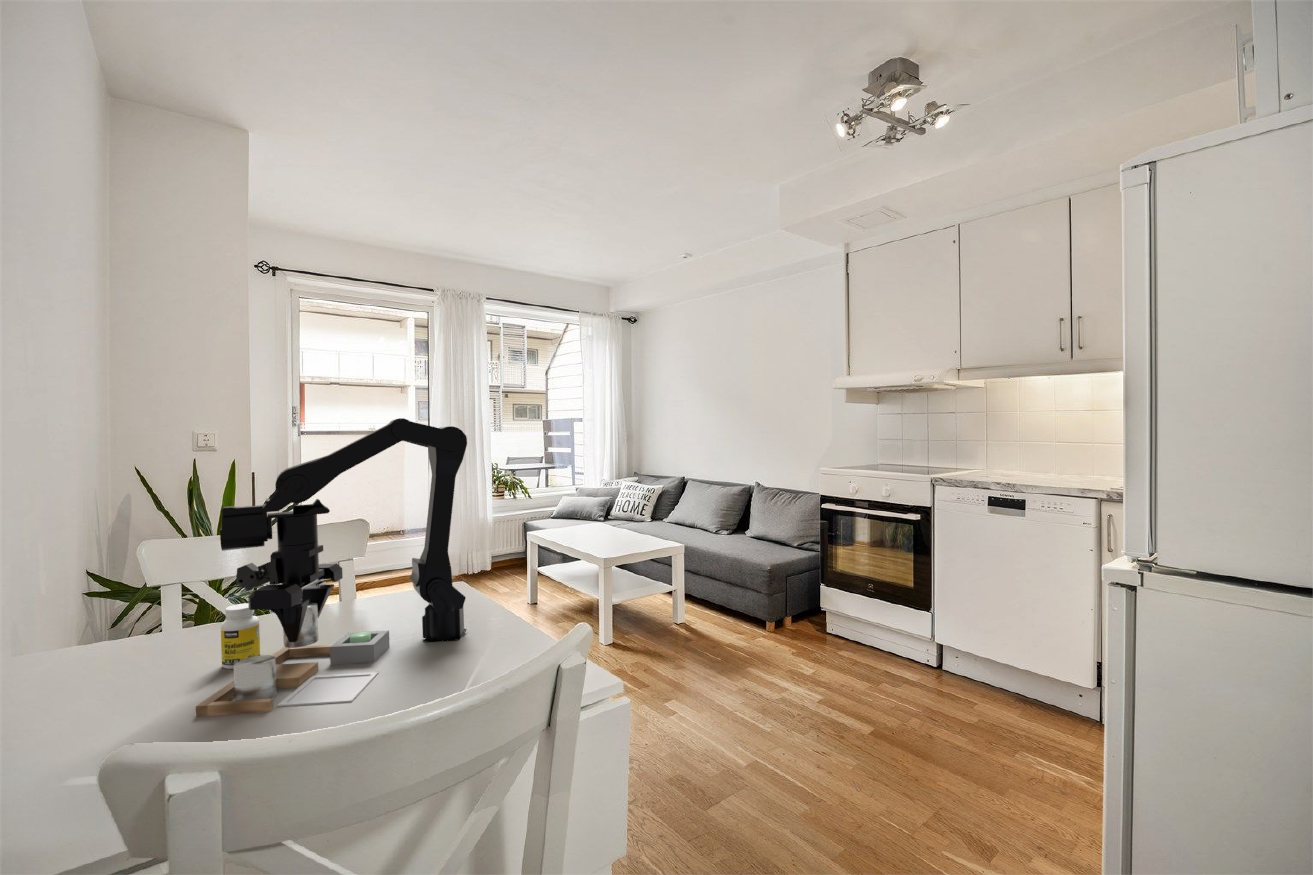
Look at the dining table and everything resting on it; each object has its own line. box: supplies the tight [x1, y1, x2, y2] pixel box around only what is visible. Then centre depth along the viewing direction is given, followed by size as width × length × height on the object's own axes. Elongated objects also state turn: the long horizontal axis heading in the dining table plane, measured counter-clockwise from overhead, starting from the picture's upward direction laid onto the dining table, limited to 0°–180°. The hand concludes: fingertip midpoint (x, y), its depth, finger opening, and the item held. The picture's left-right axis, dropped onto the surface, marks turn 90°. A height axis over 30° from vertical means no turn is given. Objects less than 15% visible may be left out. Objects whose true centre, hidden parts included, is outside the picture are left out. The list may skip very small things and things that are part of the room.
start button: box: [350, 631, 371, 643], centre depth 102 cm, size 3×3×3 cm
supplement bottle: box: [220, 602, 261, 670], centre depth 101 cm, size 5×5×10 cm
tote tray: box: [276, 671, 379, 708], centre depth 88 cm, size 10×10×1 cm
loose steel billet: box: [282, 602, 320, 648], centre depth 99 cm, size 5×5×6 cm
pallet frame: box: [195, 644, 333, 718], centre depth 92 cm, size 10×22×2 cm, turn 5°
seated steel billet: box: [233, 654, 277, 701], centre depth 86 cm, size 5×5×6 cm
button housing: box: [329, 630, 390, 666], centre depth 102 cm, size 7×7×4 cm
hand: (301, 636), depth 99 cm, fingers closed on loose steel billet, 5 cm apart
